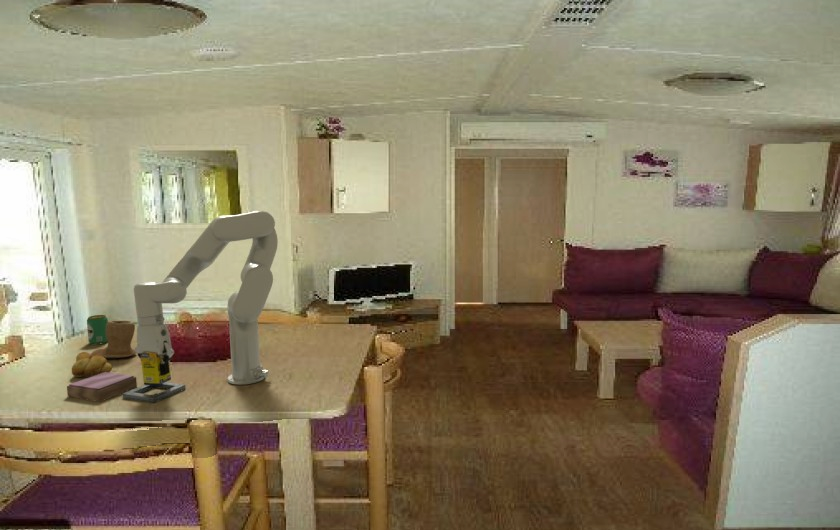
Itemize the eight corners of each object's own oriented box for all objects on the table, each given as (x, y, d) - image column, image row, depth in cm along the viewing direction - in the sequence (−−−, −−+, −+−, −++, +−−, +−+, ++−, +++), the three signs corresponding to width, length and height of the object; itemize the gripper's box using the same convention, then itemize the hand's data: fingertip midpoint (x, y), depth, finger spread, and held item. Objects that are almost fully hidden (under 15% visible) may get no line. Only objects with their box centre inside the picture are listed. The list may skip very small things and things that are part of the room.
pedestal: (136, 386, 177) (136, 375, 176) (99, 401, 164) (98, 389, 163) (106, 382, 182) (105, 371, 181) (67, 396, 168) (66, 384, 168)
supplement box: (159, 386, 167) (155, 353, 166) (143, 385, 168) (139, 352, 167) (171, 379, 173) (168, 347, 171) (156, 378, 174) (152, 347, 173)
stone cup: (143, 352, 219) (140, 317, 217) (127, 360, 207) (124, 324, 205) (107, 352, 219) (104, 317, 217) (89, 361, 207) (86, 324, 205)
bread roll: (117, 370, 195) (115, 349, 194) (102, 379, 185) (100, 357, 184) (82, 371, 195) (81, 350, 194) (65, 379, 185) (63, 358, 184)
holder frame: (185, 388, 175) (185, 384, 174) (154, 403, 162) (153, 398, 162) (155, 384, 179) (155, 380, 179) (122, 398, 167) (122, 393, 166)
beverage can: (85, 343, 234) (83, 317, 232) (104, 339, 240) (102, 313, 239) (93, 345, 229) (91, 319, 228) (112, 341, 236) (110, 315, 234)
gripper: (180, 318, 168) (186, 371, 171) (139, 316, 174) (145, 367, 177) (162, 324, 161) (168, 379, 164) (120, 321, 167) (127, 375, 170)
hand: (156, 372), depth 170 cm, fingers closed on supplement box, 6 cm apart
